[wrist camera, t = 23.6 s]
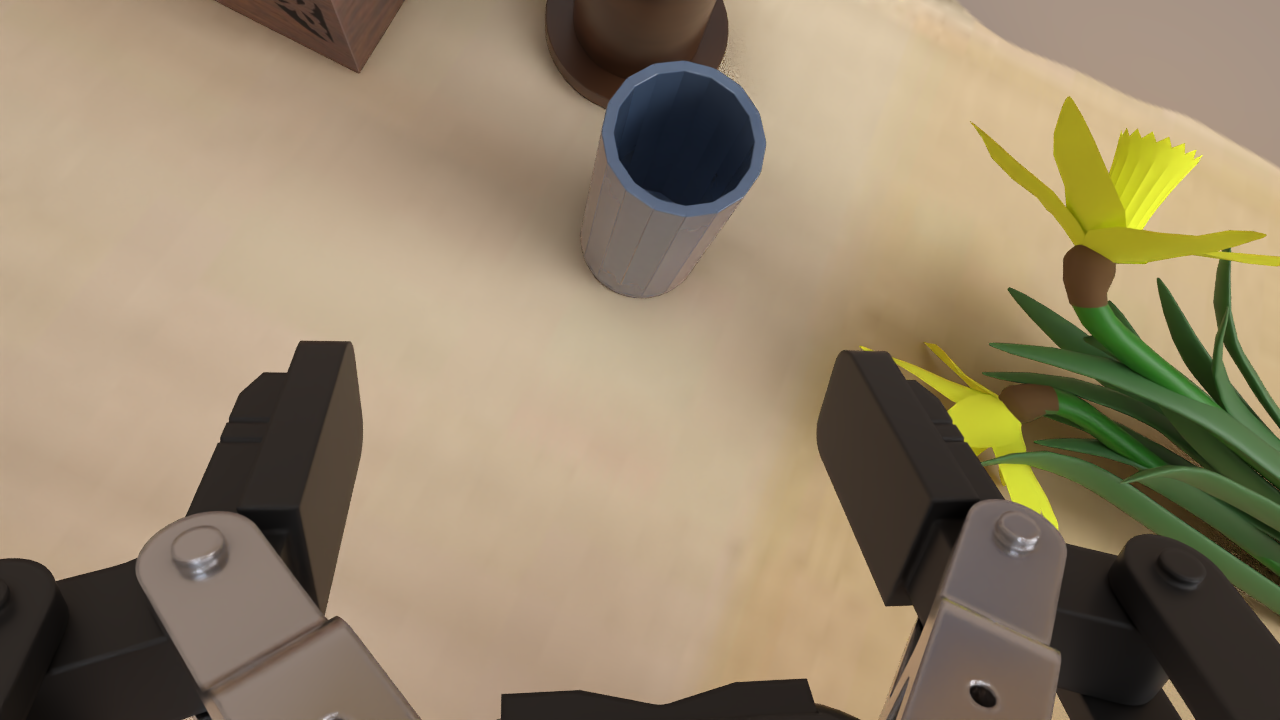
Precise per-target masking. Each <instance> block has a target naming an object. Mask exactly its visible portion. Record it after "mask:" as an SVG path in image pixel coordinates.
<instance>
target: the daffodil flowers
mask: <svg viewBox="0 0 1280 720" xmlns="http://www.w3.org/2000/svg"><path fill="white" fill-rule="evenodd" d="M971 124H972V125H973V126H974V127H975V129H976V130H977V131H978V133H979V134H980V136H981V137H982V139H983V141H984V143H985V145H986V147H987V149H988V151H989V153H990V155H991V157H992V159H993V160H994V161H995V162H996V163H997V164H998V165H999V166H1000V167H1001V168H1002V169H1003V170H1004V171H1005V172H1006V173H1007V174H1008V175H1009V176H1010V177H1011V178H1012V179H1013V180H1014V181H1016V182H1017V183H1018V184H1020V185H1021V186H1022V187H1024V188H1025V189H1026V190H1028V191H1029V192H1030V193H1032V194H1033V195H1034V196H1036V197H1037V198H1038V199H1039V201H1040V202H1041V203H1042V204H1043V206H1044V207H1045V208H1046V210H1047V211H1049V212H1050V213H1051V214H1052V215H1053V216H1054V217H1055V218H1056V220H1057V221H1058V222H1059V224H1060V225H1061V226H1062V227H1063V229H1064V230H1065V232H1066V233H1067V235H1068V236H1069V238H1070V239H1071V241H1072V242H1073V244H1074V245H1075V246H1074V247H1073V248H1072V249H1070V250H1069V251H1068V252H1067V253H1066V255H1065V256H1064V258H1063V281H1064V285H1065V289H1066V292H1067V296H1068V299H1069V303H1070V304H1071V305H1072V307H1073V308H1074V310H1075V312H1076V314H1077V316H1078V318H1079V320H1080V321H1081V323H1082V325H1083V326H1084V327H1085V328H1086V329H1087V330H1088V331H1089V332H1090V334H1091V335H1092V336H1089V335H1087V334H1086V333H1084V332H1083V331H1082V330H1080V329H1079V328H1077V327H1076V326H1075V325H1073V324H1072V323H1070V322H1069V321H1067V320H1066V319H1064V318H1063V317H1061V316H1060V315H1058V314H1056V313H1055V312H1053V311H1052V310H1050V309H1049V308H1047V307H1046V306H1044V305H1042V304H1041V303H1039V302H1037V301H1036V300H1034V299H1032V298H1030V297H1029V296H1027V295H1025V294H1023V293H1021V292H1019V291H1017V290H1015V289H1013V288H1010V287H1009V288H1008V291H1009V292H1010V294H1011V295H1012V297H1013V298H1014V299H1015V301H1016V302H1017V303H1018V304H1019V305H1020V306H1021V308H1022V309H1023V310H1024V311H1025V312H1026V313H1027V314H1028V316H1029V317H1030V318H1031V319H1032V320H1033V321H1034V322H1035V323H1036V324H1037V325H1038V326H1039V327H1040V328H1041V329H1042V330H1043V331H1044V332H1045V333H1046V334H1047V335H1048V336H1049V338H1050V339H1051V340H1052V341H1053V342H1054V343H1055V344H1056V345H1057V346H1059V347H1060V348H1061V349H1058V348H1053V347H1043V346H1032V345H1022V344H1010V343H989V345H990V346H992V347H994V348H997V349H1000V350H1002V351H1005V352H1008V353H1010V354H1014V355H1017V356H1021V357H1024V358H1028V359H1031V360H1035V361H1039V362H1042V363H1046V364H1049V365H1053V366H1056V367H1059V368H1062V369H1065V370H1068V371H1072V372H1075V373H1078V374H1081V375H1084V376H1087V377H1091V378H1094V379H1095V380H1097V381H1098V382H1099V383H1100V384H1102V385H1103V386H1104V387H1103V386H1099V385H1096V384H1092V383H1089V382H1085V381H1082V380H1078V379H1075V378H1069V377H1061V376H1053V375H1046V374H1038V373H1028V372H982V374H983V375H986V376H990V377H993V378H997V379H1001V380H1006V381H1011V382H1017V383H1022V384H1019V385H1010V386H1008V387H1006V388H1005V389H1004V390H1003V391H1002V392H1001V394H1000V395H997V394H995V393H994V392H992V391H990V390H989V389H987V388H985V387H984V386H982V385H981V384H979V383H977V382H976V381H974V380H973V379H971V378H970V377H968V376H966V375H965V374H964V373H963V372H962V370H961V369H960V368H959V367H958V366H957V365H956V364H955V363H954V362H953V361H952V360H951V359H950V358H949V357H948V356H947V354H946V353H945V352H944V351H943V350H942V349H941V348H940V347H938V346H937V345H936V344H930V343H926V342H924V343H925V344H926V345H927V346H928V347H929V348H930V349H931V350H932V351H933V352H934V353H935V354H936V355H937V356H938V357H939V358H940V359H941V360H942V361H943V362H944V363H945V364H946V365H948V366H949V367H950V368H951V369H952V370H953V371H954V372H955V373H956V374H957V375H958V376H960V377H961V378H962V379H963V380H964V381H965V382H966V383H967V384H968V385H969V386H970V388H969V387H966V386H963V385H960V384H957V383H954V382H952V381H949V380H947V379H945V378H942V377H940V376H938V375H935V374H933V373H931V372H929V371H926V370H924V369H922V368H920V367H917V366H915V365H912V364H910V363H907V362H904V361H902V360H899V359H896V358H893V357H892V358H893V360H894V361H895V363H896V364H898V365H900V366H901V367H903V368H904V369H906V370H908V371H909V372H911V373H913V374H914V375H916V376H917V377H919V378H920V379H921V380H923V381H924V382H926V383H927V384H929V385H930V386H931V387H933V388H934V389H936V390H937V391H939V392H940V393H941V394H943V395H944V396H946V397H947V398H949V399H950V400H951V401H953V402H956V404H955V405H954V406H953V407H952V408H950V409H949V410H948V411H947V412H948V414H949V415H950V417H951V418H952V420H953V425H956V426H957V427H958V429H959V430H960V432H961V433H962V435H963V436H964V442H967V443H968V444H969V446H970V447H971V449H972V450H973V452H974V453H975V455H976V456H978V455H979V454H980V453H982V452H983V451H984V450H986V449H987V448H989V447H992V449H993V451H994V454H995V457H996V458H994V459H991V460H987V461H984V462H981V464H982V465H983V466H988V465H996V464H999V475H1000V480H1001V483H1002V485H1003V486H1005V485H1006V486H1007V489H1008V492H1009V494H1010V497H1011V500H1012V502H1016V503H1019V504H1021V505H1024V506H1026V507H1028V508H1030V509H1032V510H1034V511H1036V512H1037V513H1039V514H1041V511H1042V514H1043V516H1044V517H1045V518H1046V519H1047V520H1048V521H1049V522H1051V523H1052V524H1053V525H1054V526H1055V528H1056V529H1057V530H1058V522H1057V520H1056V518H1055V515H1054V513H1053V510H1052V508H1051V506H1050V503H1049V501H1048V498H1047V496H1046V495H1045V493H1044V491H1043V489H1042V488H1041V486H1040V484H1039V483H1038V481H1037V479H1036V477H1035V475H1034V473H1033V471H1032V469H1031V466H1032V467H1036V468H1039V469H1042V470H1046V471H1049V472H1052V473H1055V474H1057V475H1060V476H1062V477H1065V478H1067V479H1070V480H1072V481H1074V482H1076V483H1078V484H1080V485H1082V486H1084V487H1086V488H1087V489H1089V490H1091V491H1093V492H1094V493H1096V494H1098V495H1099V496H1101V497H1102V498H1104V499H1106V500H1107V501H1109V502H1110V503H1112V504H1113V505H1115V506H1116V507H1117V508H1119V509H1120V510H1122V511H1123V512H1125V513H1126V514H1128V515H1129V516H1130V517H1132V518H1133V519H1135V520H1136V521H1138V522H1139V523H1141V524H1142V525H1144V526H1145V527H1147V528H1148V529H1150V530H1151V531H1153V532H1154V533H1156V534H1157V535H1160V536H1165V537H1169V538H1172V539H1175V540H1177V541H1180V542H1182V543H1184V544H1186V545H1188V546H1190V547H1192V548H1194V549H1195V550H1197V551H1199V552H1200V553H1202V554H1203V555H1204V556H1206V557H1207V558H1208V559H1210V560H1211V561H1212V562H1213V563H1214V564H1215V565H1216V566H1217V567H1218V568H1219V569H1220V570H1221V571H1222V572H1223V574H1224V575H1225V576H1226V577H1227V579H1228V580H1229V581H1230V582H1231V583H1232V584H1233V585H1235V586H1236V587H1238V588H1239V589H1241V590H1242V591H1244V592H1245V593H1247V594H1248V595H1250V596H1251V597H1253V598H1254V599H1256V600H1257V601H1259V602H1260V603H1262V604H1264V605H1265V606H1267V607H1268V608H1270V609H1271V610H1272V611H1274V612H1275V613H1277V614H1278V615H1280V587H1279V586H1278V585H1276V584H1275V583H1273V582H1272V581H1270V580H1269V579H1267V578H1266V577H1264V576H1263V575H1261V574H1260V573H1258V572H1257V571H1256V570H1254V569H1253V568H1251V567H1250V566H1248V565H1247V564H1245V563H1244V562H1242V561H1241V560H1239V559H1238V558H1236V557H1235V556H1233V555H1232V554H1230V553H1229V552H1228V551H1226V550H1225V549H1223V548H1222V547H1220V546H1219V545H1217V544H1216V543H1214V542H1213V541H1211V540H1210V539H1209V538H1207V537H1206V536H1204V535H1203V534H1201V533H1200V532H1198V531H1197V530H1195V529H1194V528H1192V527H1191V526H1190V525H1188V524H1187V523H1185V522H1184V521H1182V520H1181V519H1179V518H1178V517H1176V516H1175V515H1173V514H1172V513H1171V512H1169V511H1168V510H1166V509H1165V508H1163V507H1162V506H1160V505H1159V504H1158V503H1156V502H1155V501H1153V500H1152V499H1151V498H1149V497H1148V496H1146V495H1145V494H1144V493H1142V492H1141V491H1139V490H1138V489H1136V488H1135V487H1133V486H1132V485H1130V484H1129V483H1131V482H1136V481H1137V482H1139V483H1141V484H1143V485H1145V486H1147V487H1149V488H1151V489H1152V490H1154V491H1156V492H1158V493H1159V494H1161V495H1163V496H1164V497H1166V498H1168V499H1169V500H1171V501H1173V502H1174V503H1176V504H1178V505H1179V506H1181V507H1183V508H1184V509H1186V510H1187V511H1189V512H1191V513H1192V514H1194V515H1195V516H1197V517H1198V518H1200V519H1201V520H1203V521H1204V522H1206V523H1207V524H1209V525H1210V526H1212V527H1213V528H1215V529H1217V530H1218V531H1219V532H1221V533H1222V534H1223V535H1225V536H1226V537H1227V538H1229V539H1230V540H1231V541H1233V542H1234V543H1235V544H1237V545H1238V546H1239V547H1241V548H1242V549H1243V550H1244V551H1246V552H1247V553H1248V554H1250V555H1251V556H1252V557H1254V558H1255V559H1256V560H1258V561H1259V562H1260V563H1262V564H1263V565H1264V566H1266V567H1267V568H1268V569H1270V570H1271V571H1272V572H1274V573H1275V574H1276V575H1278V576H1279V577H1280V543H1278V542H1277V541H1279V542H1280V491H1279V490H1280V440H1279V439H1278V438H1277V437H1276V436H1275V435H1274V434H1273V432H1272V431H1271V430H1270V429H1269V428H1268V427H1267V426H1266V425H1265V424H1264V422H1263V421H1262V420H1261V419H1260V418H1259V417H1258V416H1257V415H1256V413H1255V412H1254V411H1253V410H1252V409H1251V407H1250V406H1249V405H1248V404H1247V403H1246V401H1245V400H1244V399H1243V398H1242V396H1241V395H1240V394H1239V393H1238V391H1237V390H1236V389H1235V388H1234V387H1233V385H1232V384H1231V383H1230V381H1229V378H1228V375H1227V373H1226V370H1225V367H1224V364H1223V361H1222V355H1223V343H1224V345H1225V347H1226V349H1227V351H1228V352H1229V354H1230V356H1231V357H1232V359H1233V360H1234V362H1235V364H1236V365H1237V367H1238V368H1239V370H1240V372H1241V373H1242V375H1243V376H1244V378H1245V380H1246V381H1247V383H1248V385H1249V387H1250V388H1251V390H1252V391H1253V393H1254V394H1255V396H1256V397H1257V399H1258V400H1259V402H1260V403H1261V404H1262V406H1263V407H1264V408H1265V410H1266V411H1267V413H1268V414H1269V415H1270V417H1271V418H1272V419H1273V421H1274V422H1275V423H1276V424H1277V426H1278V427H1279V428H1280V409H1279V408H1278V406H1277V405H1276V403H1275V402H1274V400H1273V399H1272V398H1271V396H1270V394H1269V393H1268V391H1267V390H1266V388H1265V387H1264V385H1263V383H1262V381H1261V380H1260V378H1259V376H1258V374H1257V373H1256V371H1255V370H1254V368H1253V367H1252V365H1251V364H1250V362H1249V360H1248V359H1247V357H1246V355H1245V354H1244V352H1243V350H1242V347H1241V345H1240V343H1239V341H1238V338H1237V333H1236V329H1235V325H1234V321H1233V316H1232V312H1231V280H1230V276H1231V261H1237V262H1242V263H1248V264H1258V265H1268V266H1280V257H1278V256H1266V255H1255V254H1243V253H1231V247H1235V246H1238V245H1241V244H1244V243H1248V242H1251V241H1254V240H1258V239H1261V238H1264V237H1265V236H1267V235H1266V234H1263V233H1258V232H1254V231H1234V230H1228V231H1223V232H1217V233H1211V234H1206V235H1200V236H1193V235H1181V234H1168V233H1159V232H1152V231H1146V230H1142V229H1143V228H1144V226H1145V225H1146V223H1147V222H1148V220H1149V219H1150V217H1151V216H1152V215H1153V213H1154V212H1155V211H1156V209H1157V208H1158V207H1159V206H1160V205H1161V203H1162V202H1163V201H1164V200H1165V199H1166V197H1167V196H1168V195H1169V194H1170V193H1171V191H1172V190H1173V189H1174V188H1175V187H1176V186H1177V184H1178V183H1179V182H1180V181H1181V180H1182V179H1183V178H1184V177H1185V176H1186V175H1187V174H1188V173H1189V172H1190V171H1191V170H1192V169H1193V168H1194V167H1195V166H1196V165H1197V164H1198V162H1199V159H1200V158H1201V157H1202V156H1200V157H1198V158H1196V159H1194V156H1195V153H1196V150H1194V151H1192V152H1189V153H1186V154H1185V143H1184V144H1181V145H1178V146H1176V147H1173V148H1172V147H1171V142H1170V138H1169V137H1168V138H1165V139H1163V140H1161V141H1159V142H1156V140H1155V137H1154V134H1153V132H1151V133H1149V134H1148V135H1146V136H1145V137H1143V138H1141V136H1140V133H1139V131H1138V129H1137V130H1136V131H1134V132H1133V133H1132V134H1131V135H1130V136H1129V133H1128V130H1127V128H1126V130H1125V132H1124V134H1123V135H1122V130H1121V133H1120V137H1119V141H1118V145H1117V149H1116V152H1115V156H1114V160H1113V163H1112V166H1111V169H1110V172H1109V173H1108V171H1107V169H1106V167H1105V164H1104V162H1103V159H1102V157H1101V155H1100V152H1099V150H1098V148H1097V145H1096V143H1095V141H1094V139H1093V137H1092V135H1091V132H1090V130H1089V128H1088V126H1087V124H1086V122H1085V120H1084V118H1083V116H1082V115H1081V113H1080V111H1079V109H1078V107H1077V106H1076V104H1075V103H1074V101H1073V100H1072V98H1071V97H1070V96H1069V97H1067V99H1066V100H1065V102H1064V104H1063V107H1062V109H1061V112H1060V115H1059V118H1058V121H1057V125H1056V128H1055V131H1054V152H1053V155H1054V158H1055V161H1056V164H1057V166H1058V169H1059V172H1060V175H1061V178H1062V180H1063V183H1064V186H1065V197H1066V207H1065V205H1064V204H1063V203H1062V202H1061V200H1060V199H1059V198H1058V197H1057V195H1056V194H1055V193H1054V192H1053V191H1052V190H1051V189H1050V188H1048V187H1047V186H1046V185H1045V184H1044V183H1042V182H1041V181H1040V180H1039V179H1038V178H1036V177H1035V176H1034V175H1033V174H1032V173H1030V172H1029V171H1028V170H1027V169H1026V168H1024V167H1023V166H1022V165H1021V164H1020V163H1018V162H1017V161H1016V160H1015V159H1014V158H1013V157H1012V156H1011V155H1009V154H1008V153H1007V152H1006V151H1005V150H1004V149H1003V148H1002V147H1001V146H1000V145H998V144H997V143H996V142H995V141H994V140H993V139H992V138H991V137H989V136H988V135H987V134H986V133H985V132H984V131H982V130H981V129H980V128H978V127H977V126H976V125H975V124H973V123H972V122H971ZM1220 250H1222V252H1219V251H1220ZM1188 255H1196V256H1203V257H1210V258H1216V259H1220V260H1219V264H1218V268H1217V273H1216V282H1215V291H1214V300H1213V303H1214V309H1215V315H1216V320H1217V326H1218V332H1217V334H1216V337H1215V344H1214V351H1213V359H1212V358H1211V357H1210V355H1209V354H1208V352H1207V351H1206V349H1205V348H1204V346H1203V345H1202V343H1201V342H1200V341H1199V339H1198V338H1197V336H1196V335H1195V333H1194V331H1193V329H1192V328H1191V326H1190V324H1189V323H1188V321H1187V319H1186V318H1185V316H1184V314H1183V313H1182V311H1181V309H1180V308H1179V306H1178V304H1177V303H1176V301H1175V299H1174V298H1173V296H1172V295H1171V293H1170V291H1169V290H1168V288H1167V287H1166V286H1165V284H1164V283H1163V282H1162V280H1161V279H1160V278H1157V285H1158V291H1159V296H1160V300H1161V304H1162V308H1163V313H1164V316H1165V319H1166V322H1167V325H1168V328H1169V331H1170V334H1171V336H1172V339H1173V342H1174V343H1175V345H1176V347H1177V349H1178V351H1179V353H1180V355H1181V357H1182V359H1183V361H1184V363H1185V365H1186V366H1187V367H1188V369H1189V370H1190V371H1191V373H1192V374H1193V376H1194V377H1195V378H1196V379H1197V380H1198V382H1199V383H1200V384H1201V385H1202V386H1203V388H1204V389H1205V390H1206V391H1207V392H1208V394H1209V395H1210V396H1211V397H1212V398H1211V397H1210V396H1209V395H1208V394H1207V393H1205V392H1204V391H1203V390H1202V389H1200V388H1199V387H1198V386H1197V385H1196V384H1194V383H1193V382H1192V381H1191V380H1189V379H1188V378H1187V377H1186V376H1184V375H1183V374H1182V373H1181V372H1179V371H1178V370H1177V369H1176V368H1174V367H1173V366H1172V365H1170V364H1169V363H1168V362H1167V361H1165V360H1164V359H1163V358H1162V357H1161V356H1159V355H1158V354H1157V353H1156V352H1155V351H1153V350H1152V349H1151V348H1150V347H1149V346H1148V345H1146V344H1145V343H1144V342H1143V341H1142V340H1141V339H1140V337H1139V336H1138V334H1137V333H1136V332H1135V330H1134V329H1133V327H1132V326H1131V325H1130V323H1129V322H1128V320H1127V319H1126V318H1125V316H1124V315H1123V314H1122V313H1121V312H1120V310H1119V309H1118V308H1117V307H1116V306H1115V305H1114V304H1113V303H1112V302H1111V301H1108V302H1107V292H1108V289H1109V287H1110V285H1111V283H1112V281H1113V279H1114V277H1115V272H1116V264H1146V263H1148V262H1152V261H1158V260H1164V259H1169V258H1175V257H1181V256H1188ZM859 347H860V348H862V349H863V350H864V351H873V350H871V349H868V348H866V347H863V346H859ZM1077 396H1078V397H1077ZM1079 397H1080V398H1083V399H1086V400H1089V401H1092V402H1094V403H1097V404H1100V405H1103V406H1106V407H1109V408H1111V409H1114V410H1116V411H1119V412H1121V413H1124V414H1126V415H1129V416H1131V417H1133V418H1135V419H1137V420H1139V421H1141V422H1143V423H1145V424H1147V425H1149V426H1151V427H1152V428H1154V429H1156V430H1158V431H1159V432H1160V433H1162V434H1163V435H1164V436H1165V437H1167V438H1168V439H1169V440H1170V441H1171V442H1173V443H1174V444H1175V445H1176V446H1178V447H1179V448H1180V449H1181V450H1183V451H1184V452H1185V453H1186V454H1188V455H1189V456H1190V457H1191V458H1192V459H1194V460H1195V461H1196V462H1197V463H1199V464H1200V465H1201V466H1202V467H1204V468H1205V469H1204V468H1200V467H1197V466H1195V465H1194V464H1192V463H1190V462H1189V461H1187V460H1185V459H1184V458H1182V457H1180V456H1179V455H1177V454H1175V453H1173V452H1172V451H1170V450H1168V449H1166V448H1165V447H1163V446H1161V445H1159V444H1157V443H1155V442H1154V441H1152V440H1150V439H1148V438H1146V437H1144V436H1142V435H1141V434H1139V433H1137V432H1135V431H1133V430H1131V429H1130V428H1128V427H1126V426H1124V425H1122V424H1120V423H1118V422H1115V421H1113V420H1111V419H1110V418H1108V417H1107V416H1106V415H1104V414H1103V413H1101V412H1100V411H1099V410H1097V409H1096V408H1095V407H1093V406H1092V405H1090V404H1089V403H1088V402H1086V401H1084V400H1082V399H1080V398H1079ZM1042 416H1044V417H1047V418H1050V419H1052V420H1055V421H1058V422H1061V423H1064V424H1067V425H1069V426H1072V427H1075V428H1078V429H1080V430H1083V431H1085V432H1087V433H1089V434H1091V435H1092V436H1093V437H1095V438H1096V439H1081V438H1062V439H1045V440H1037V441H1034V443H1036V444H1040V445H1044V446H1048V447H1053V448H1058V449H1064V450H1069V451H1075V452H1080V453H1085V454H1090V455H1095V456H1100V457H1104V458H1108V459H1111V460H1114V461H1118V462H1121V463H1124V464H1128V465H1131V466H1133V467H1135V468H1136V469H1137V470H1139V472H1137V473H1136V474H1134V475H1132V476H1130V477H1128V478H1126V479H1124V480H1123V479H1121V478H1119V477H1117V476H1116V475H1114V474H1112V473H1110V472H1109V471H1107V470H1105V469H1103V468H1101V467H1099V466H1097V465H1095V464H1092V463H1090V462H1087V461H1084V460H1082V459H1079V458H1076V457H1071V456H1067V455H1062V454H1058V453H1053V452H1048V451H1036V452H1026V446H1025V443H1024V440H1023V436H1022V431H1021V425H1022V423H1025V422H1031V421H1033V420H1035V419H1038V418H1040V417H1042ZM1251 467H1252V468H1253V469H1252V468H1251ZM1256 471H1257V472H1258V473H1259V474H1260V475H1259V474H1258V473H1257V472H1256ZM1262 476H1263V477H1264V478H1265V479H1266V480H1268V481H1269V482H1270V483H1271V484H1273V485H1274V486H1275V487H1276V488H1277V489H1279V490H1277V489H1276V488H1275V487H1274V486H1272V485H1271V484H1270V483H1269V482H1268V481H1266V480H1265V479H1264V478H1263V477H1262ZM1040 509H1041V510H1040ZM1267 534H1268V535H1267ZM1269 535H1270V536H1271V537H1273V538H1274V539H1276V540H1277V541H1276V540H1274V539H1273V538H1271V537H1270V536H1269Z"/></svg>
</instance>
